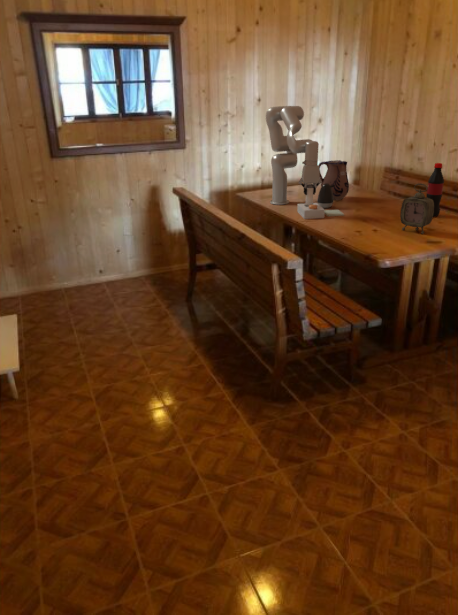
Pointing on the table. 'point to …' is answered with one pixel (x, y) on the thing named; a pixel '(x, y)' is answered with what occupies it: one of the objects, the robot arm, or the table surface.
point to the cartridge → (309, 194)
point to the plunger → (312, 206)
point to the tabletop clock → (417, 210)
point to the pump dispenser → (325, 196)
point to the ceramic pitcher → (336, 178)
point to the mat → (333, 213)
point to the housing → (310, 211)
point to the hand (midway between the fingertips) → (309, 194)
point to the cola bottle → (436, 187)
